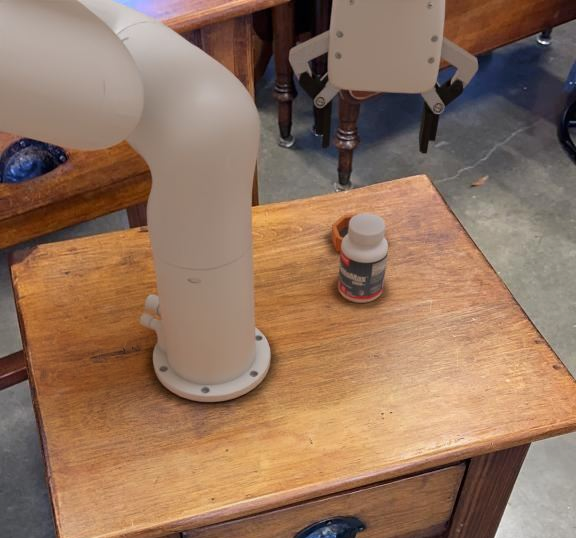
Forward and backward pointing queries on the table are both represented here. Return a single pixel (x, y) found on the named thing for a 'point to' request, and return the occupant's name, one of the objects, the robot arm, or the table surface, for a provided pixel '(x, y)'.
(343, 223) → the bowl
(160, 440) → the table surface
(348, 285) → the pill bottle
